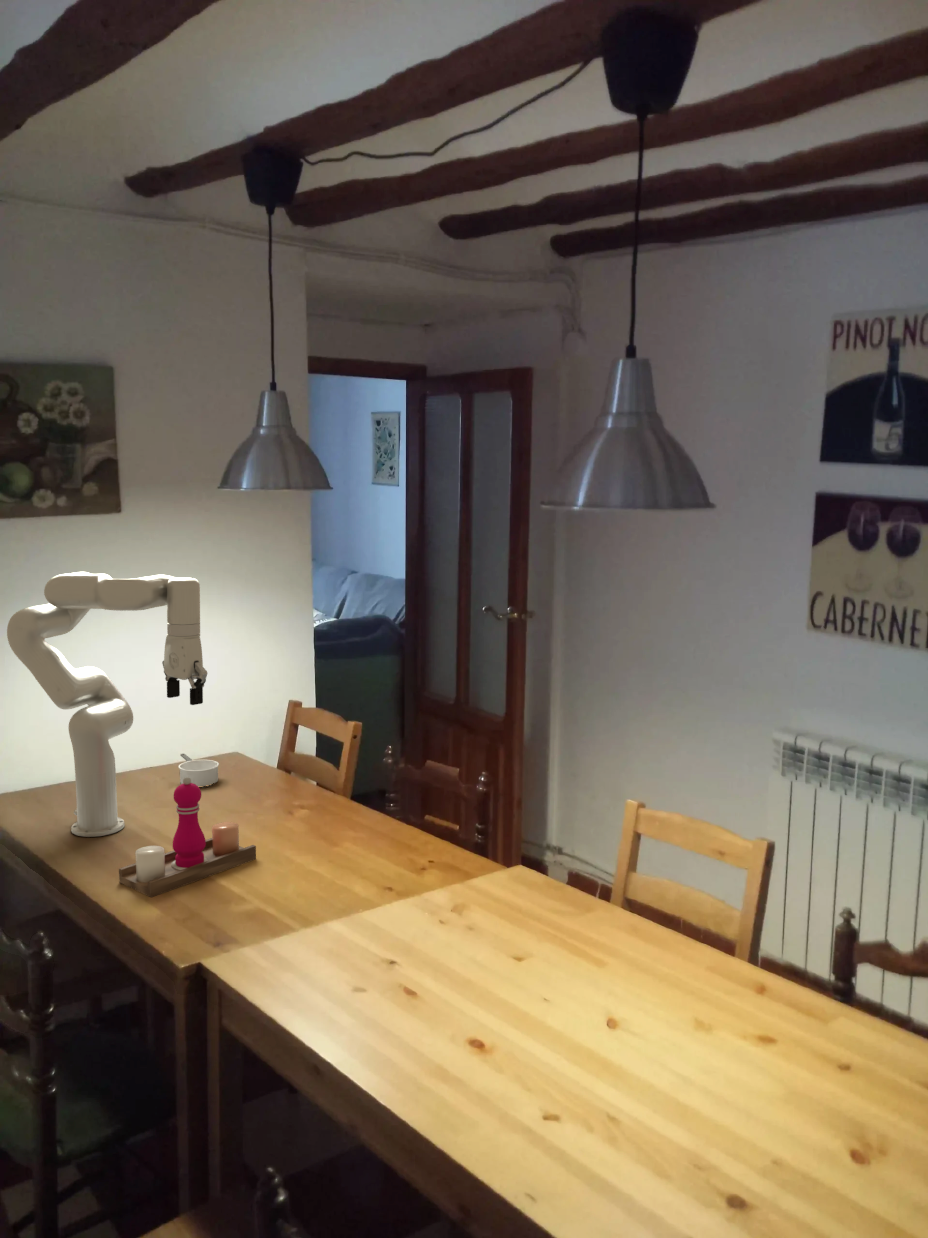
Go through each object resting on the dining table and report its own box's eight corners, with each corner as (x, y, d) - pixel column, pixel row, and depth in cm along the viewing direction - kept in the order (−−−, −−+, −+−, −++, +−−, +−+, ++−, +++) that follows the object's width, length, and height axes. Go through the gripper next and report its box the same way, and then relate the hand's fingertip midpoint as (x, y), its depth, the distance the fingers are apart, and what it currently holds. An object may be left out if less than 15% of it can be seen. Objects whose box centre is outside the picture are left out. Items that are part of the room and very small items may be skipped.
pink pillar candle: (207, 851, 233) (206, 827, 232) (228, 844, 237) (227, 820, 236) (223, 858, 229) (222, 833, 228) (244, 850, 234) (243, 826, 233)
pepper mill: (187, 871, 221) (183, 784, 218) (166, 863, 225) (163, 778, 222) (213, 861, 226) (210, 776, 223) (192, 854, 231) (189, 770, 228)
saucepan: (201, 768, 304) (200, 750, 303) (225, 785, 288) (225, 766, 287) (164, 774, 298) (163, 756, 297) (186, 792, 281) (186, 773, 280)
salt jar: (131, 877, 217) (129, 851, 217) (155, 869, 222) (154, 843, 221) (146, 885, 214) (145, 858, 213) (170, 876, 218) (169, 850, 217)
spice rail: (119, 882, 219) (118, 868, 218) (224, 846, 240) (223, 834, 240) (151, 897, 211) (150, 883, 211) (256, 859, 233) (255, 846, 232)
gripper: (149, 627, 239) (151, 696, 242) (190, 636, 228) (191, 709, 231) (177, 624, 245) (178, 692, 248) (218, 633, 234) (219, 704, 236)
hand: (184, 700), depth 239 cm, fingers open, 9 cm apart
